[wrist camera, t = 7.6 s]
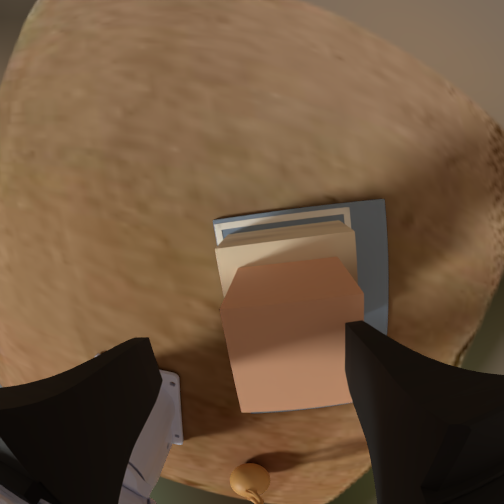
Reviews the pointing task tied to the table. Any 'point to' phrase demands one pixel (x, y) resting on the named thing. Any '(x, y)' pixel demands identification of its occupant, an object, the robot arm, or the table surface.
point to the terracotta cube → (290, 333)
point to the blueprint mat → (366, 236)
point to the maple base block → (286, 247)
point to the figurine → (250, 481)
